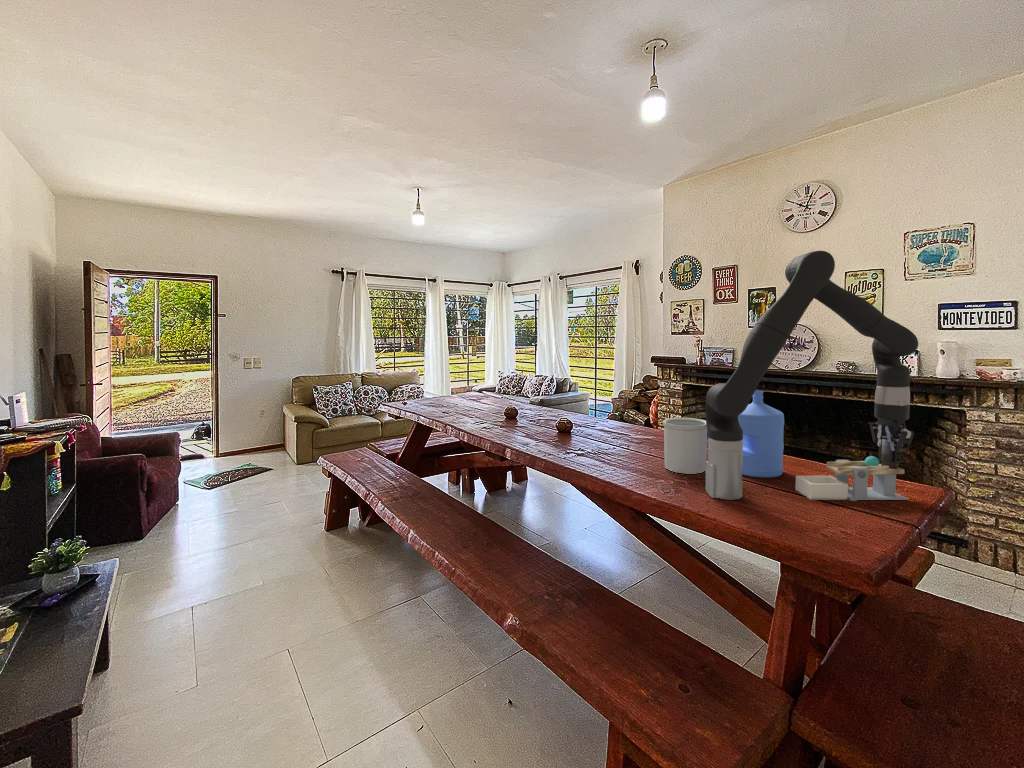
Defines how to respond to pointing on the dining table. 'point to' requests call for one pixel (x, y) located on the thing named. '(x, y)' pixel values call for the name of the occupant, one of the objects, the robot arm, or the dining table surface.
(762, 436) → the water jug
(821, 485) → the gray open tray
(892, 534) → the dining table surface
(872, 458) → the ball
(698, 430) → the utensil holder
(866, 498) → the stand
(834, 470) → the lever
